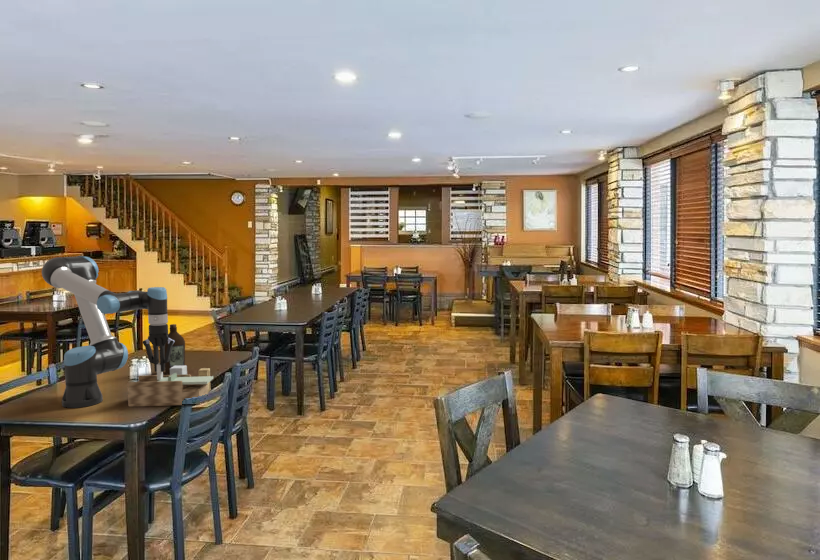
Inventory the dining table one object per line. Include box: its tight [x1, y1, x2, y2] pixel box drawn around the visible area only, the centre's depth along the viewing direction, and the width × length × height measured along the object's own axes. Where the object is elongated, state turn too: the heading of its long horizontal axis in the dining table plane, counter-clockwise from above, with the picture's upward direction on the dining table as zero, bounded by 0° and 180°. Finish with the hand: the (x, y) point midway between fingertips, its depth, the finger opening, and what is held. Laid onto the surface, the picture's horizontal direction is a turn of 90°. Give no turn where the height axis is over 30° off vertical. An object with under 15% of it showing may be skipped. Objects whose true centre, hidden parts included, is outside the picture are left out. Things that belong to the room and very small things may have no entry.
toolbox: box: [126, 373, 209, 407], centre depth 249 cm, size 29×12×10 cm, turn 93°
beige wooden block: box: [197, 367, 212, 393], centre depth 264 cm, size 4×4×10 cm
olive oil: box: [164, 323, 186, 375], centre depth 299 cm, size 11×11×25 cm
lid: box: [158, 373, 214, 385], centre depth 249 cm, size 21×9×3 cm, turn 93°
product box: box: [170, 364, 188, 375], centre depth 282 cm, size 6×6×7 cm
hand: (160, 378), depth 249 cm, fingers closed
